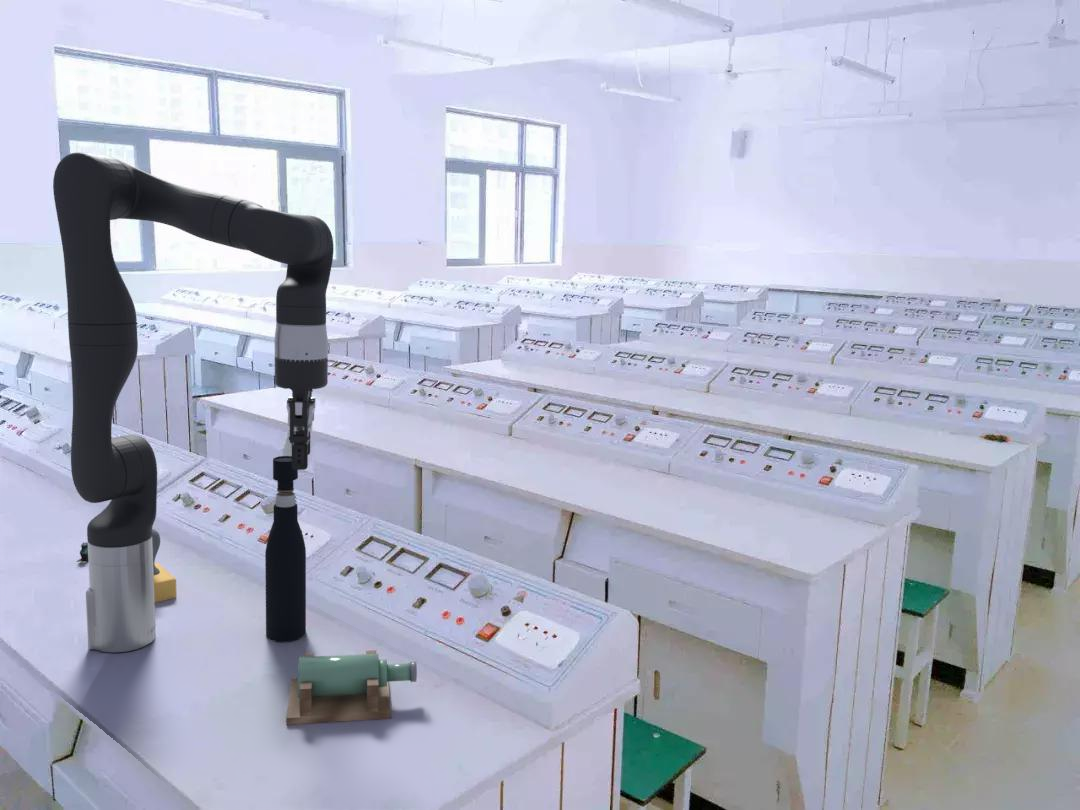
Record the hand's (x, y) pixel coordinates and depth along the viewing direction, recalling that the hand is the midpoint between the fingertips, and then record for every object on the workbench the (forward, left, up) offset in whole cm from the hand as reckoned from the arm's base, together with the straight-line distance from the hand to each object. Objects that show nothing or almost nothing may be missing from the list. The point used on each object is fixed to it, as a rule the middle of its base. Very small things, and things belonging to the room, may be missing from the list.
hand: (301, 461), depth 134 cm
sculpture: (-43, +47, -33) cm, 72 cm away
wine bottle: (-3, +10, -32) cm, 34 cm away
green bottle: (+9, -13, -31) cm, 34 cm away
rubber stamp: (-28, +30, -32) cm, 52 cm away
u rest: (+6, -13, -32) cm, 35 cm away
